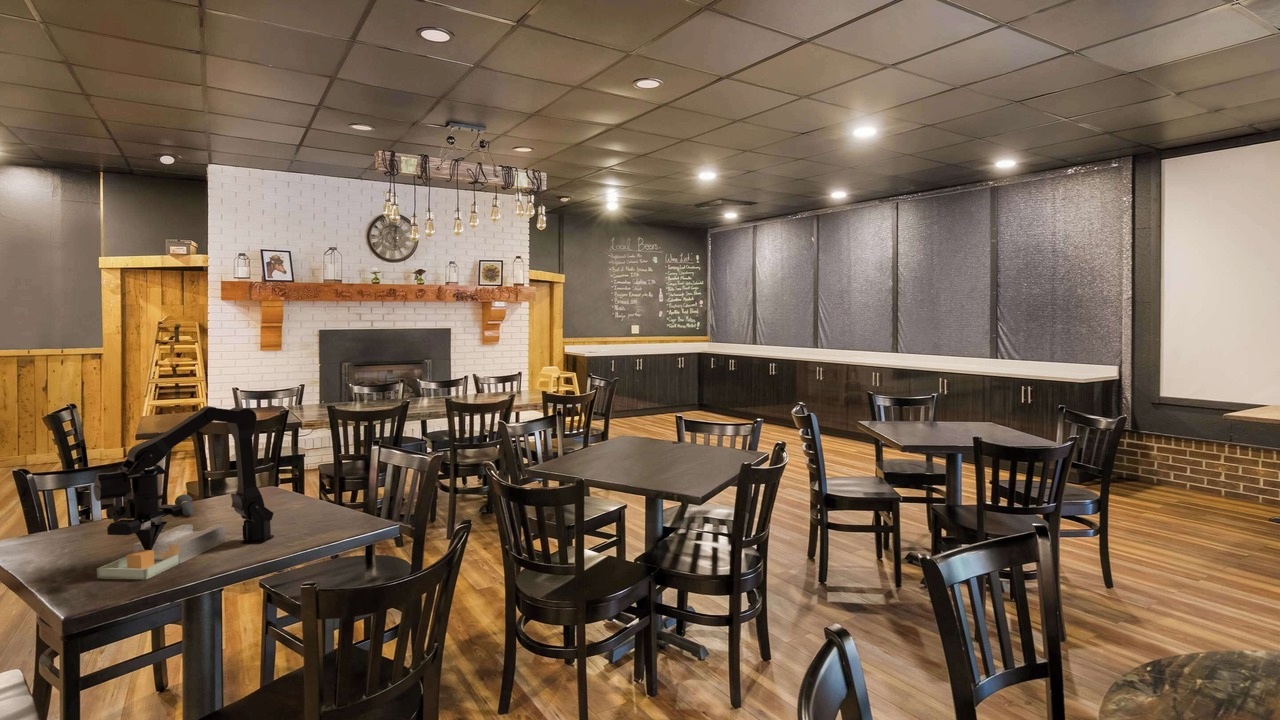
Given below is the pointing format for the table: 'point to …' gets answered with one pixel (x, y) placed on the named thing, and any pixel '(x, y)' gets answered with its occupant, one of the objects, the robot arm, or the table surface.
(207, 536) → the slot rail
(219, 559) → the table surface
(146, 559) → the peach toy brick
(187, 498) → the grey double lobed rod
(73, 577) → the table surface
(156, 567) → the tray
